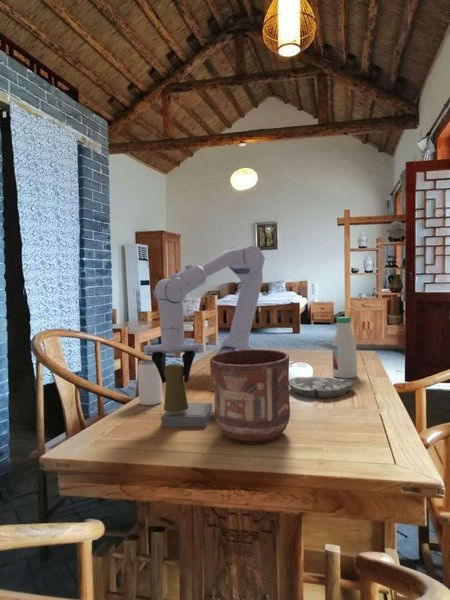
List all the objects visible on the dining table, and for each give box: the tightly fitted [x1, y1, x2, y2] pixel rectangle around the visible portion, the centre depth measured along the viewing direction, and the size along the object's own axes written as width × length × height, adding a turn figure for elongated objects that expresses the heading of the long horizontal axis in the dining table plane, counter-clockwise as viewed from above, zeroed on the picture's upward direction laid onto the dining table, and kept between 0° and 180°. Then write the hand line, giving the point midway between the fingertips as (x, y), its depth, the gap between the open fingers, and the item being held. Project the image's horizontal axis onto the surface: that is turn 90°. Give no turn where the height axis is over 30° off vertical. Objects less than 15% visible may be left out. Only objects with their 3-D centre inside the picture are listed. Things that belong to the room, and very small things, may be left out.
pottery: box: [209, 349, 291, 445], centre depth 102 cm, size 18×18×18 cm
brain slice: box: [289, 376, 355, 399], centre depth 135 cm, size 20×17×3 cm
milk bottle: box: [332, 316, 358, 380], centre depth 152 cm, size 8×8×20 cm
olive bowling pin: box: [163, 363, 189, 412], centre depth 112 cm, size 6×6×11 cm
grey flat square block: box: [160, 402, 214, 428], centre depth 115 cm, size 11×11×3 cm
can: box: [137, 359, 163, 407], centre depth 131 cm, size 6×6×12 cm
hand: (175, 381), depth 113 cm, fingers closed on olive bowling pin, 5 cm apart
